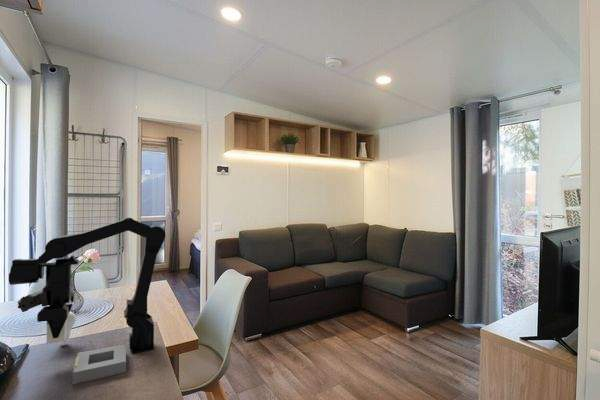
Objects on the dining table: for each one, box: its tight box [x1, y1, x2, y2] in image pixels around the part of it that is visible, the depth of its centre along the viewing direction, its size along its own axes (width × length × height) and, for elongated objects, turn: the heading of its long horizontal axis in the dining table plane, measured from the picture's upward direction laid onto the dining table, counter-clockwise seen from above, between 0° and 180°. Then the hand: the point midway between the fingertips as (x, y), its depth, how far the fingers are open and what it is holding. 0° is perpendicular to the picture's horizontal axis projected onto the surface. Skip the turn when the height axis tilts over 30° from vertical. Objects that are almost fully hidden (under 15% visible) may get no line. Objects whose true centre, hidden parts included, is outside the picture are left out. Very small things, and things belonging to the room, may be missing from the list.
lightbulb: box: [58, 310, 77, 346], centre depth 101 cm, size 6×6×11 cm
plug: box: [46, 319, 67, 345], centre depth 89 cm, size 4×4×7 cm
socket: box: [71, 343, 127, 385], centre depth 88 cm, size 12×12×3 cm
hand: (56, 335), depth 89 cm, fingers closed on plug, 4 cm apart
